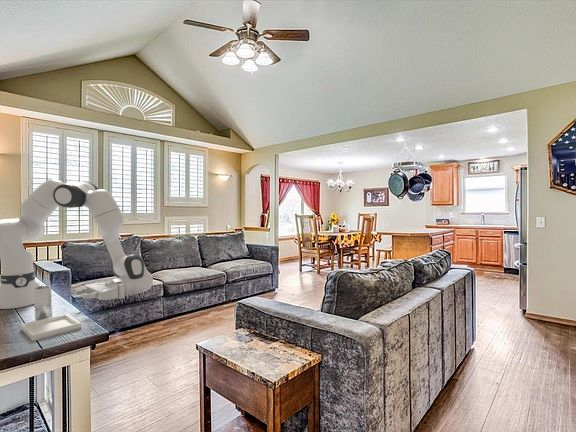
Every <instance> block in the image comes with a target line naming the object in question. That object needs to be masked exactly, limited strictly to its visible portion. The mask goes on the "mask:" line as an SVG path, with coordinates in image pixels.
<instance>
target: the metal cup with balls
mask: <svg viewBox="0 0 576 432" xmlns="http://www.w3.org/2000/svg"><path fill="white" fill-rule="evenodd" d="M52 300H53V299H52V286H51V285H46V284H45V285H39V287H36V288H34V303H35V304H34V317H35V319H34V321H37V320H42V319H46V318H50V317H53V304H52V302H53V301H52Z"/></svg>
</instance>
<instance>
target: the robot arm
mask: <svg viewBox="0 0 576 432" xmlns="http://www.w3.org/2000/svg"><path fill="white" fill-rule="evenodd" d="M58 207H62V208H69V209H72V208H81V207H85V208H87V209H88V210H89V211H90V213H91V215H92V217H93V220H94V222H95V223H96V225H97V228H98V230H99V232H100V235H101V237H102V240H103V243H104V245H105V249H106V250H107V251H106V252H107V253H108V255H109V256H108V257H109V259H110V269H111V273H112V275H113V276H115V277H113V278H109V279H108V280H107V281H106V282H95V283H89V284H88V283H87V284H85V285H84V287H83V288H80V289H79V290H78V289H77V290H75V291H74V295H76V296H82V299H83V300H89V299H97V300H99V301H110V300H116V299H117V300H123V299H125V297H126V296H128V295H137V294H140V293H141V294H142V293H144V292H146V291H148V290H150V289H151V288H152V285H153V282H154V279H153V278H154V277H153V275H152V274H151V272H149V270H148V269H147V267H146V265H145V260H144V259H143V258H142V256H140V255H138V254H136V253H135V254H134V253H133V254H130V255H126V254H125V251H124V248H123V246H122V243H121V240H120V233H121V230H122V228H123V227H124V223H125V220H124V216H123V213H122V210H121V209H120V208H119V205H118V203H117V201H116V200H115V198H114V197H113V195H112V194H111V192H110V191H108V190H106V189H99V188H98V186H97V185H96V184H94V183H92V182H89V181H73V182H63V181H62V180H59V179H56V178H50V179H48V180H46V181H45V182H43V183H42V184H40V185H39V186H37V188H35V189H34V190H33V191H32V192H31V193H30V195H29V196H28V197H27V198H26V199H25V200H24V201H23V202H22V203H21V204H20V211H21V213H20V215H19V216H17V217H14V218H1V219H0V267H1V269H0V270H1V275H0V310H8V309H9V310H10V309H17V308H23V307H24V308H25V307H28V306H31V305H35V303H34V288H36V287H39V286H40V283H39V282H38V281H37V280H35V279H36V272H35V271H34V256H33V254H32V253H31V252H29V251H27V249H25V247H24V243H25V242H31V241H32V242H33V241H34V240H38V239H40V238H42V237H43V236H44V234H45V231H46V226H45V223H46V221H47V219H48V218H49V217H50V216H51V215H52V214H54V212H55V211H56V210H57V208H58Z"/></svg>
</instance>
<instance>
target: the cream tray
mask: <svg viewBox="0 0 576 432" xmlns="http://www.w3.org/2000/svg"><path fill="white" fill-rule="evenodd" d="M20 326H21V331H22V333H24V334H25V335H26V336H27V337H28V338H29V340H30V341H32V342H35V341H39V340H44V339H47V338H50V337H54V336H58V335H62V334H65V333H70V332H73V331H77V330H80V329H82V322H80V321H79V320H78V319H76V318H75V317H73V316H72V315H70V314H68V313H63V314H61V315H55V316H52V317H50V318H46V319H42V320H37V321H35V320H33V321H30V322H25V323H21V324H20Z"/></svg>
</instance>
